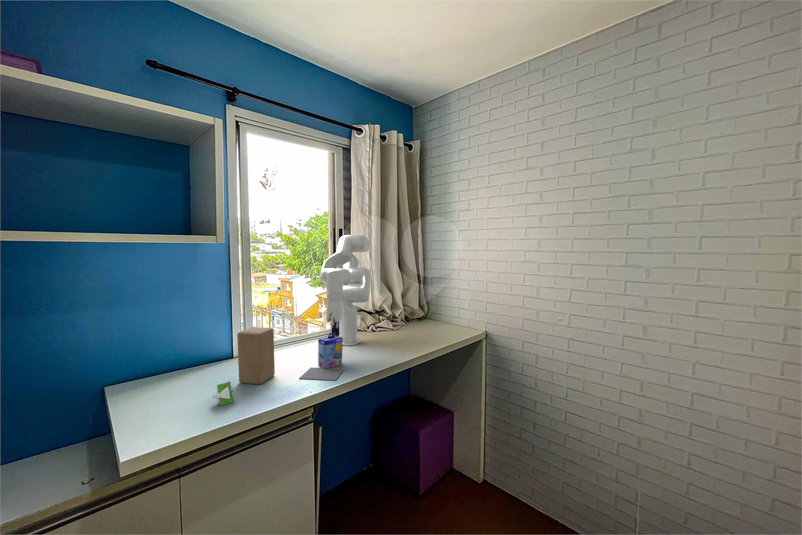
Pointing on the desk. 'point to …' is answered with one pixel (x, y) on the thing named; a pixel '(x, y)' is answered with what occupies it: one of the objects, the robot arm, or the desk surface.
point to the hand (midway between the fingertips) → (335, 335)
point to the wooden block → (256, 355)
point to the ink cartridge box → (330, 351)
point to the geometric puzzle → (225, 393)
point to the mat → (322, 374)
